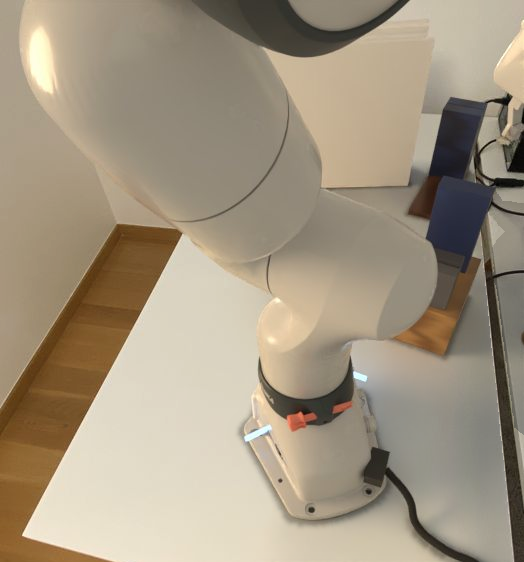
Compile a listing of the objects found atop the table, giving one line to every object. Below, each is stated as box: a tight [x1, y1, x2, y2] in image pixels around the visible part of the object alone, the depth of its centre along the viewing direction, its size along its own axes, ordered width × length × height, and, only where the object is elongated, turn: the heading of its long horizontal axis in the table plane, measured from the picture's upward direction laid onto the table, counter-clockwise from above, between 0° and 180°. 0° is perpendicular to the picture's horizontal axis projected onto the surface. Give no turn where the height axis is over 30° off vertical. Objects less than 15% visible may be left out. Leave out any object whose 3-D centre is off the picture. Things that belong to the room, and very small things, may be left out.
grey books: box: [429, 247, 465, 311], centre depth 71 cm, size 6×4×8 cm, turn 62°
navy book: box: [424, 176, 497, 274], centre depth 73 cm, size 7×2×14 cm, turn 61°
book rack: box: [407, 96, 489, 220], centre depth 96 cm, size 7×18×15 cm, turn 151°
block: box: [263, 18, 436, 189], centre depth 97 cm, size 35×8×28 cm, turn 86°
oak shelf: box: [391, 256, 483, 357], centre depth 80 cm, size 10×14×9 cm
